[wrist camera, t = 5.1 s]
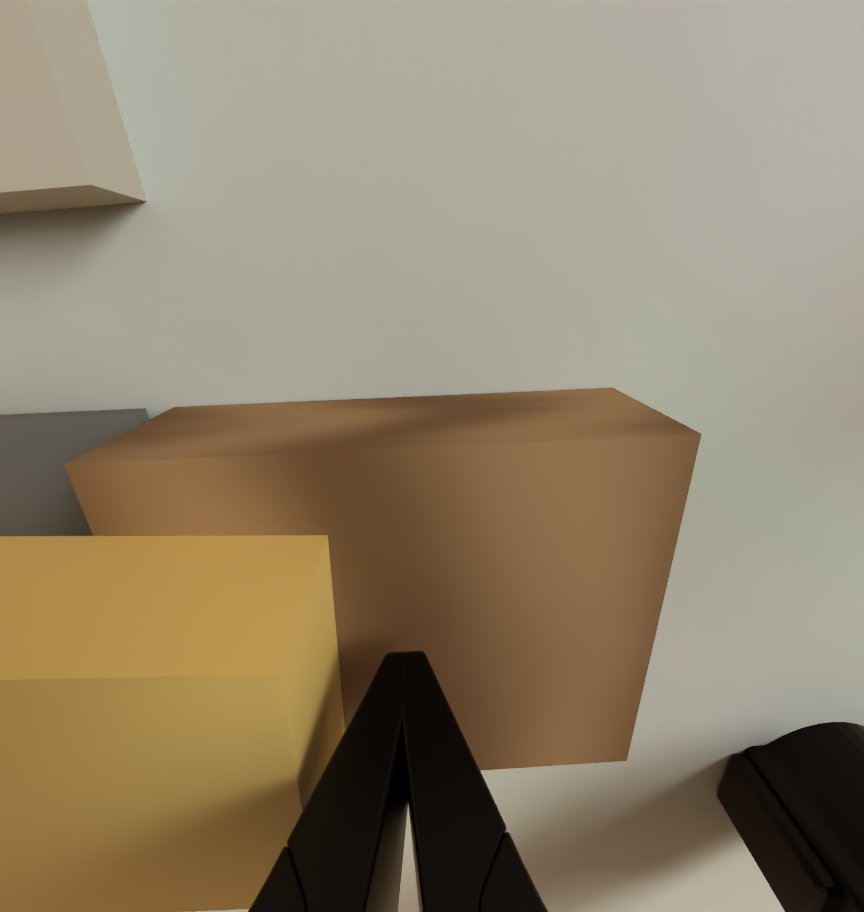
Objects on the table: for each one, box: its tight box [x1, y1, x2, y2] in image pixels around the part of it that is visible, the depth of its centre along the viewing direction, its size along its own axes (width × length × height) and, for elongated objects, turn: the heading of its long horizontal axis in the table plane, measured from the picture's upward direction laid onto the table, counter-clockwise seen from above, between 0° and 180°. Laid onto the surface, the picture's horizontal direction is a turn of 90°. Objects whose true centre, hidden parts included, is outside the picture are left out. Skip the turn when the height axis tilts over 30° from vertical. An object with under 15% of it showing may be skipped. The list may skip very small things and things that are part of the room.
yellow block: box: [0, 535, 345, 912], centre depth 7 cm, size 8×6×3 cm
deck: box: [64, 388, 701, 770], centre depth 10 cm, size 11×9×4 cm
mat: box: [0, 409, 149, 536], centre depth 12 cm, size 9×9×1 cm
